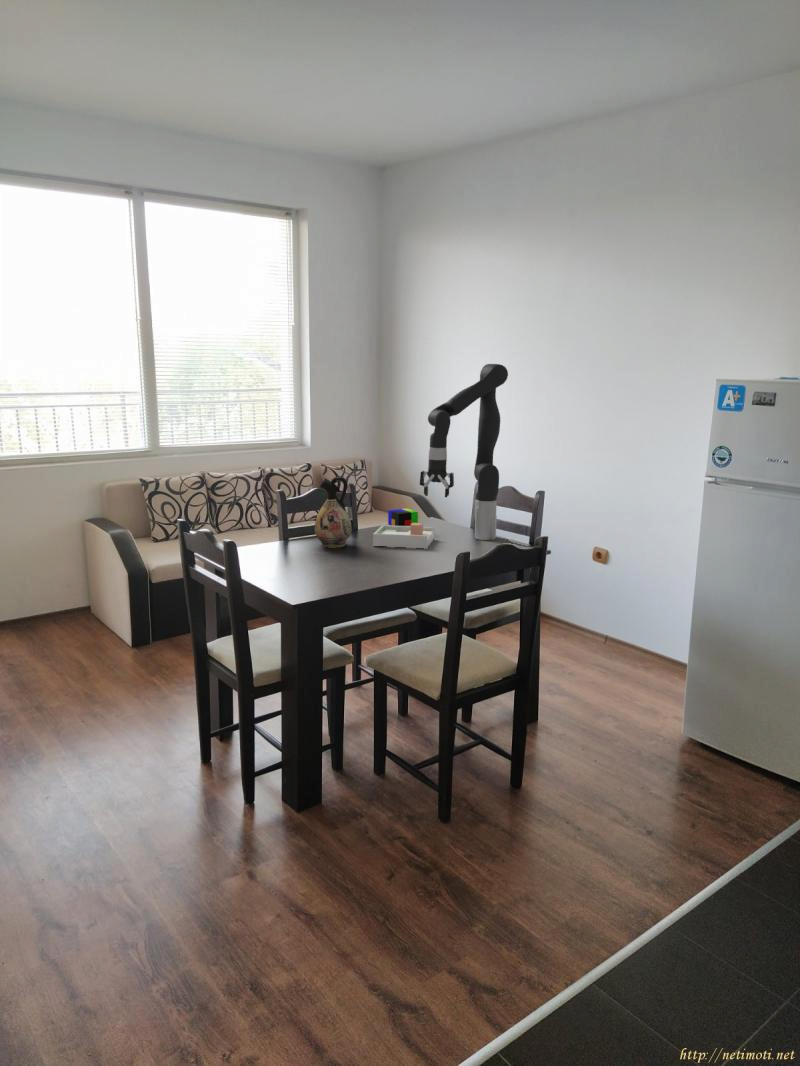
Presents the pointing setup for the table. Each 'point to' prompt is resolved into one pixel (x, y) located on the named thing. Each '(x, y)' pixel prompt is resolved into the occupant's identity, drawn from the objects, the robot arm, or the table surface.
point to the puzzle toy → (402, 517)
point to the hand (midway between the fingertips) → (436, 496)
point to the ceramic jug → (333, 516)
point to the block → (416, 529)
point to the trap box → (402, 537)
